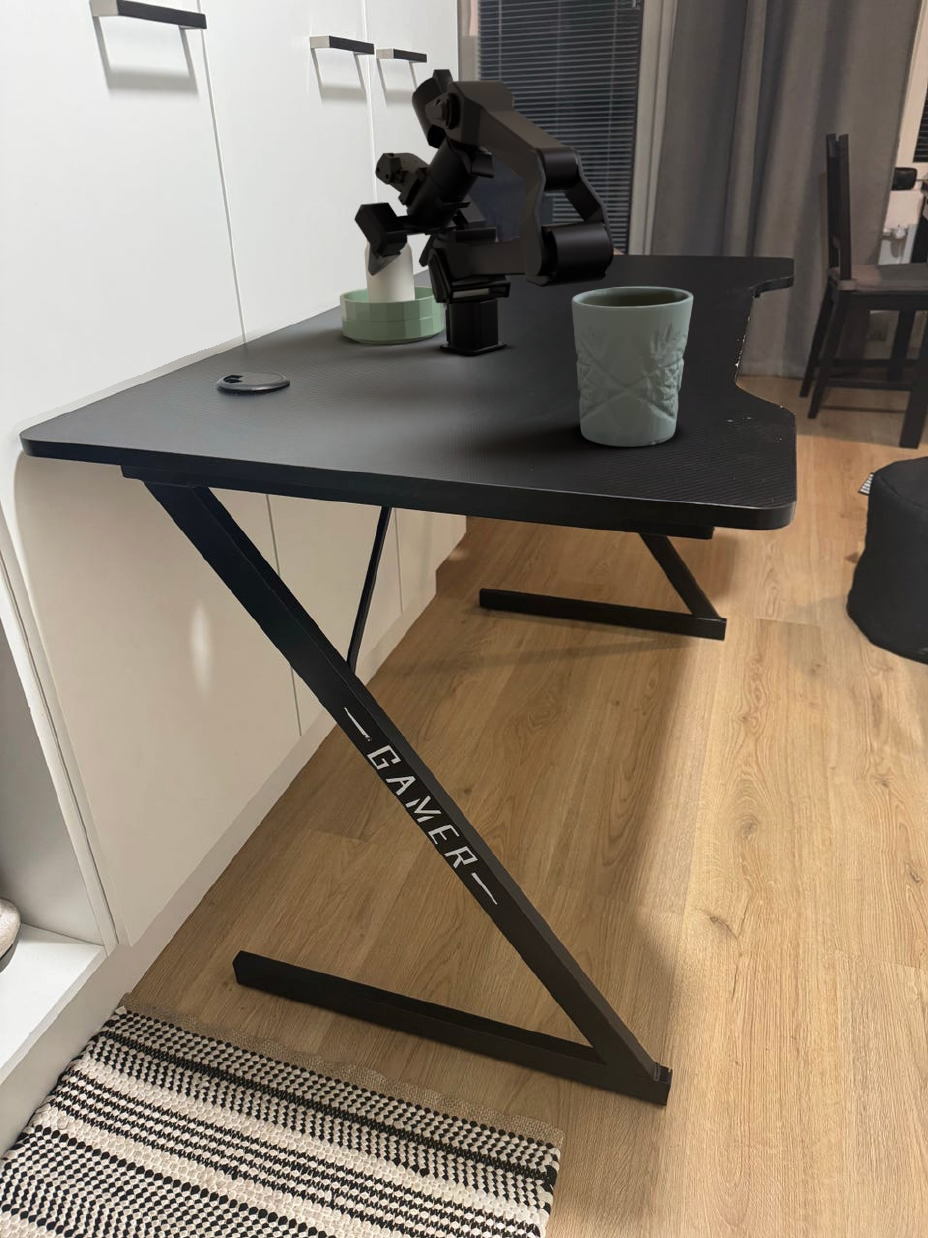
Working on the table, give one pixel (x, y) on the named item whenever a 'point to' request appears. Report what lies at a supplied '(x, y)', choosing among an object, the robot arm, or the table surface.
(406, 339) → the mint green shallow bowl
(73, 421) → the table surface
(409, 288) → the can
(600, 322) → the drinking glass
